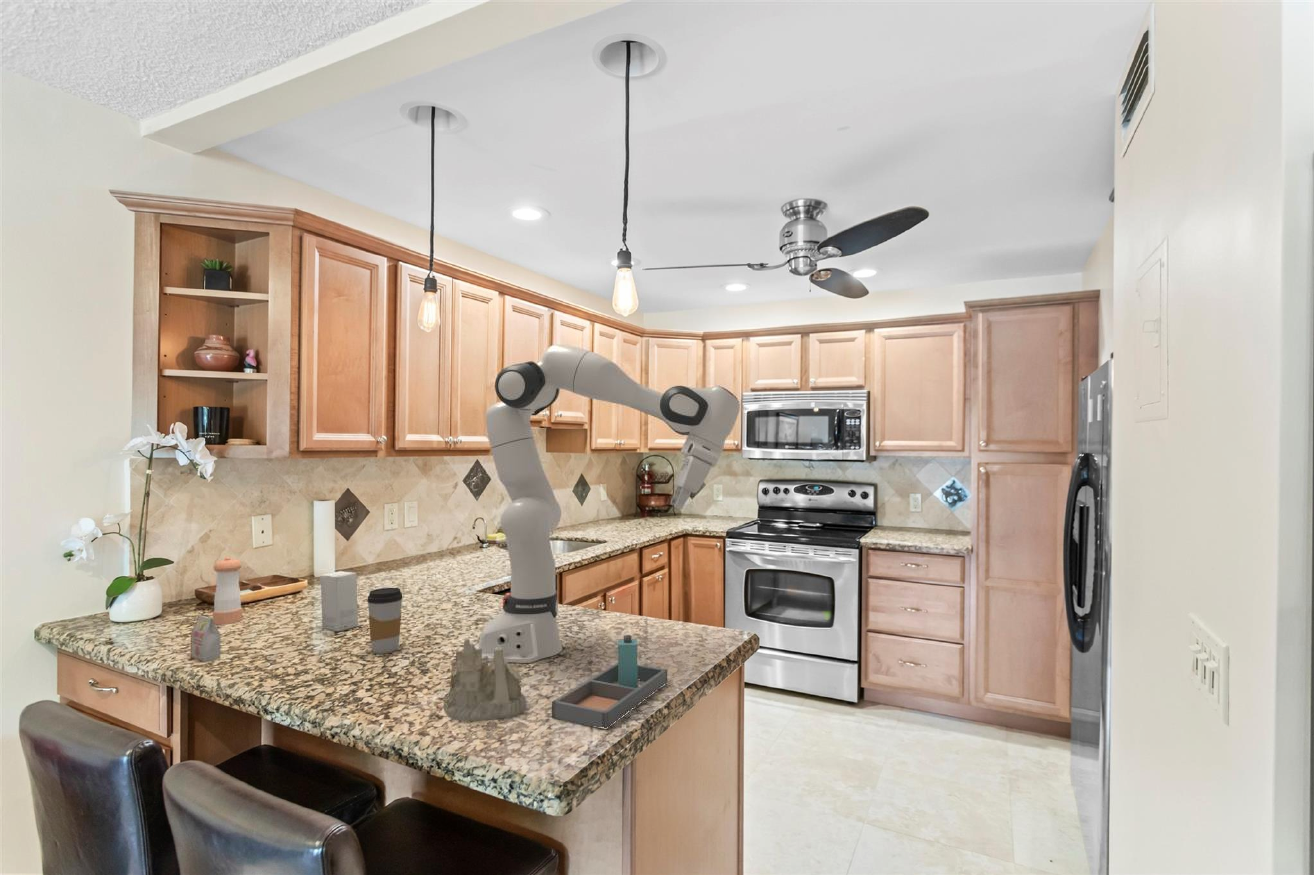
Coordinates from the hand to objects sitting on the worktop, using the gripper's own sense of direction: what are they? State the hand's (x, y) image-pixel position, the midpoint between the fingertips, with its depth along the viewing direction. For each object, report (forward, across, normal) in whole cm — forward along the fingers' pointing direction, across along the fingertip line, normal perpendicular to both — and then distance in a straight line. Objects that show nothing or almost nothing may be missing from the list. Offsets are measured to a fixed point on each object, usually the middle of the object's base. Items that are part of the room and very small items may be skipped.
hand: (675, 506), depth 149 cm
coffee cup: (+65, -21, -49) cm, 84 cm away
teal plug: (+39, +12, +6) cm, 41 cm away
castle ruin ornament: (+52, +17, -20) cm, 58 cm away
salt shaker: (+89, -54, -101) cm, 145 cm away
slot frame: (+40, +17, +3) cm, 44 cm away
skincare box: (+73, -43, -68) cm, 109 cm away
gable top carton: (+83, -19, -88) cm, 122 cm away
